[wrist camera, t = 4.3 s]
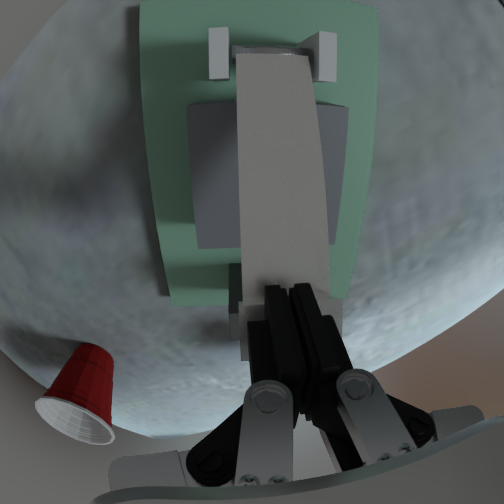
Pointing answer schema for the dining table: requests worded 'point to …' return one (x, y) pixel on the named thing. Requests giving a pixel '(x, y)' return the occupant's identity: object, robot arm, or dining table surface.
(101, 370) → the plastic cup
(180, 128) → the board
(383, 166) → the dining table surface
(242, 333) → the retention strap
